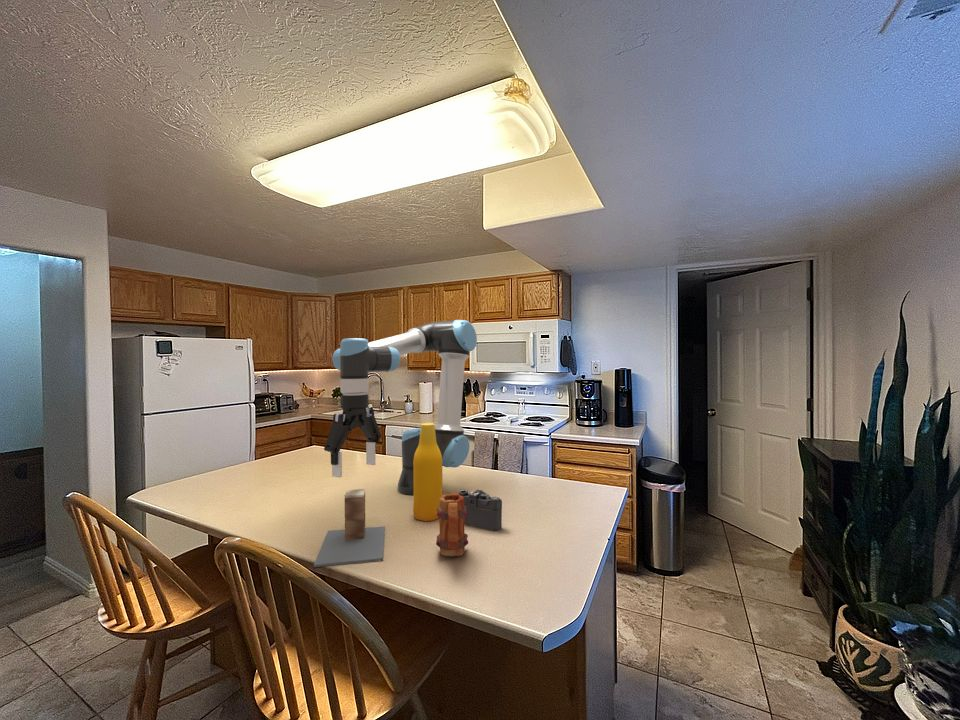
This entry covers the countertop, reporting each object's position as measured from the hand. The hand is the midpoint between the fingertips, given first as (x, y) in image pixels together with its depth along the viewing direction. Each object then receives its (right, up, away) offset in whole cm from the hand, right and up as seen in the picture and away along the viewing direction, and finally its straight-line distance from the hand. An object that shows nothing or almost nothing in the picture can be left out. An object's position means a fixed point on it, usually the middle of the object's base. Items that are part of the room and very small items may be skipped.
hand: (354, 470), depth 114 cm
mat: (+1, -19, -5) cm, 19 cm away
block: (0, -18, 0) cm, 18 cm away
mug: (+28, -19, -12) cm, 36 cm away
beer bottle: (+18, -19, +16) cm, 31 cm away
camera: (+36, -19, +11) cm, 42 cm away
